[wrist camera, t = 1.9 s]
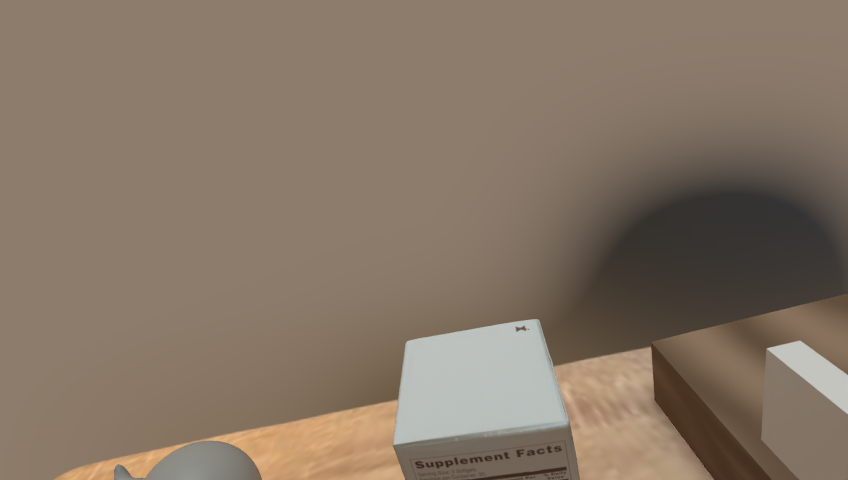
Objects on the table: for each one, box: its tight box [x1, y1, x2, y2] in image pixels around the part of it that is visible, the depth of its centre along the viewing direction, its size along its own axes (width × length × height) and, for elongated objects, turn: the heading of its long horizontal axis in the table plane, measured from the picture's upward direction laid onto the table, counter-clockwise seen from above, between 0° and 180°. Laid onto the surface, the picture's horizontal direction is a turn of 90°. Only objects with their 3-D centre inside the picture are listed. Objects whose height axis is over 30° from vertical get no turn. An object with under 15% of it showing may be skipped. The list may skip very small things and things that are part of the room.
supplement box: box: [393, 319, 580, 480], centre depth 25 cm, size 7×7×13 cm
